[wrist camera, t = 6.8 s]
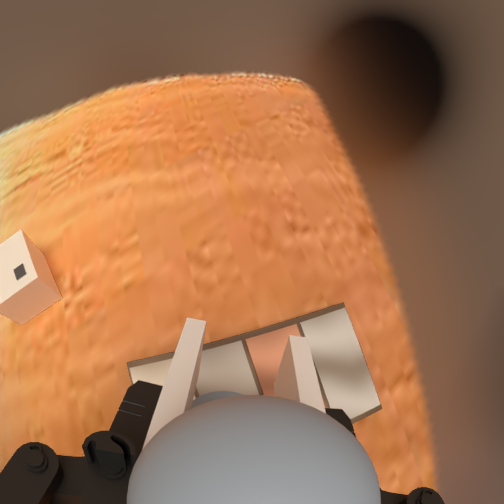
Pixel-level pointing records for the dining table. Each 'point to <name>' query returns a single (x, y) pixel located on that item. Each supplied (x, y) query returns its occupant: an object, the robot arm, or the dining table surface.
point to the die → (25, 280)
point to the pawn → (253, 456)
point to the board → (269, 358)
